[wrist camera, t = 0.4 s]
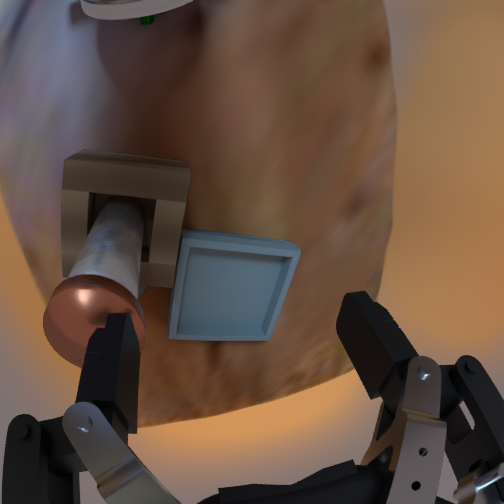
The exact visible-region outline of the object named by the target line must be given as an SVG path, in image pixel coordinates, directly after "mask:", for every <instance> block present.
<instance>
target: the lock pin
mask: <svg viewBox="0 0 504 504" xmlns="http://www.w3.org/2000/svg"><path fill="white" fill-rule="evenodd" d="M144 223H145V210H144V207H143V205H142V203H141V202H140V201H139V200H138V199H137V198H136V197H132V196H123V195H114V196H112V197H111V198H109V199H108V200H107V202H106V203H105V204H104V206H103V208H102V210H101V212H100V213H99V215H98V217H97V219H96V221H95V223H94V225H93V226H92V228H91V230H90V232H89V234H88V236H87V238H86V240H85V242H84V244H83V246H82V248H81V250H80V252H79V255H78V257H77V259H76V261H75V263H74V265H73V267H72V270H71V272H70V274H69V276H68V279H66V280H64V281H63V282H61V283H60V284H59V285H58V286H57V287H56V288H55V290H54V292H53V293H52V296H51V298H50V300H49V303H48V305H47V307H46V310H45V312H44V316H43V328H44V332H45V335H46V337H47V340H48V341H49V343H50V345H51V346H52V347H53V349H54V350H55V351H56V352H57V353H58V354H59V355H60V356H61V357H63V358H64V359H65V360H67V361H68V362H70V363H72V364H74V365H76V366H78V367H81V368H82V366H83V363H84V357H85V353H86V349H87V344H88V340H89V338H90V336H91V335H92V334H93V332H94V331H95V330H96V328H105V325H106V320H107V316H108V314H109V313H125V312H129V313H130V315H131V318H132V321H133V325H134V328H135V331H136V334H137V337H138V340H139V345H140V355H141V353H142V351H143V348H144V345H145V317H144V312H143V309H142V307H141V305H140V303H139V301H138V285H139V272H140V260H141V250H142V240H143V232H144Z"/></svg>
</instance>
